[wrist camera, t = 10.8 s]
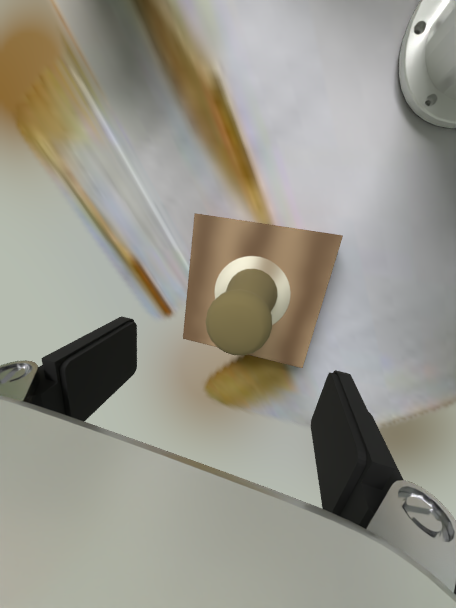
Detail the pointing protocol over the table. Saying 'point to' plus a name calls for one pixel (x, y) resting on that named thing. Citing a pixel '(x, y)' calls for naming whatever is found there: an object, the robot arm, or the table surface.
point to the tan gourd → (243, 313)
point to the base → (272, 260)
